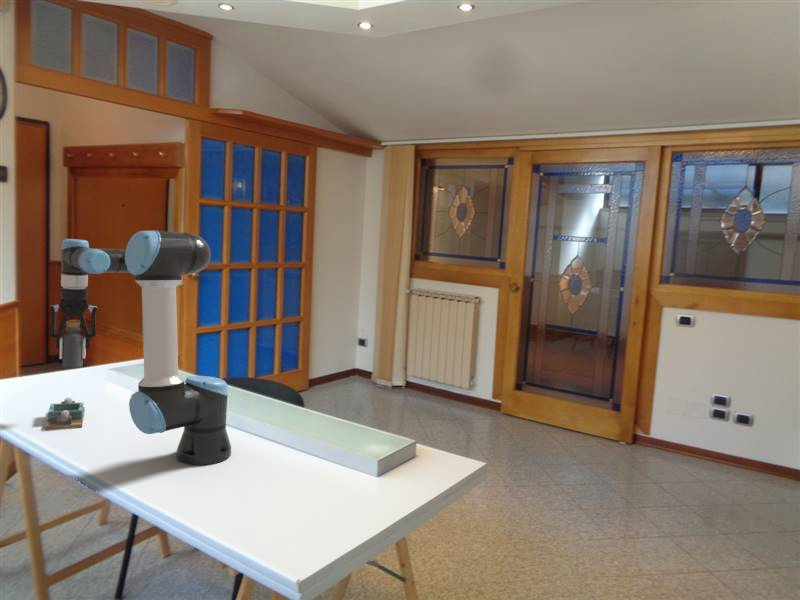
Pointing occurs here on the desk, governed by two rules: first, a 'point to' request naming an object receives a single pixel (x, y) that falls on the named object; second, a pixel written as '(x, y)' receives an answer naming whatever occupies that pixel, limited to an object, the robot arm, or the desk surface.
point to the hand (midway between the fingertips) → (72, 357)
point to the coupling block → (65, 415)
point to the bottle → (72, 345)
